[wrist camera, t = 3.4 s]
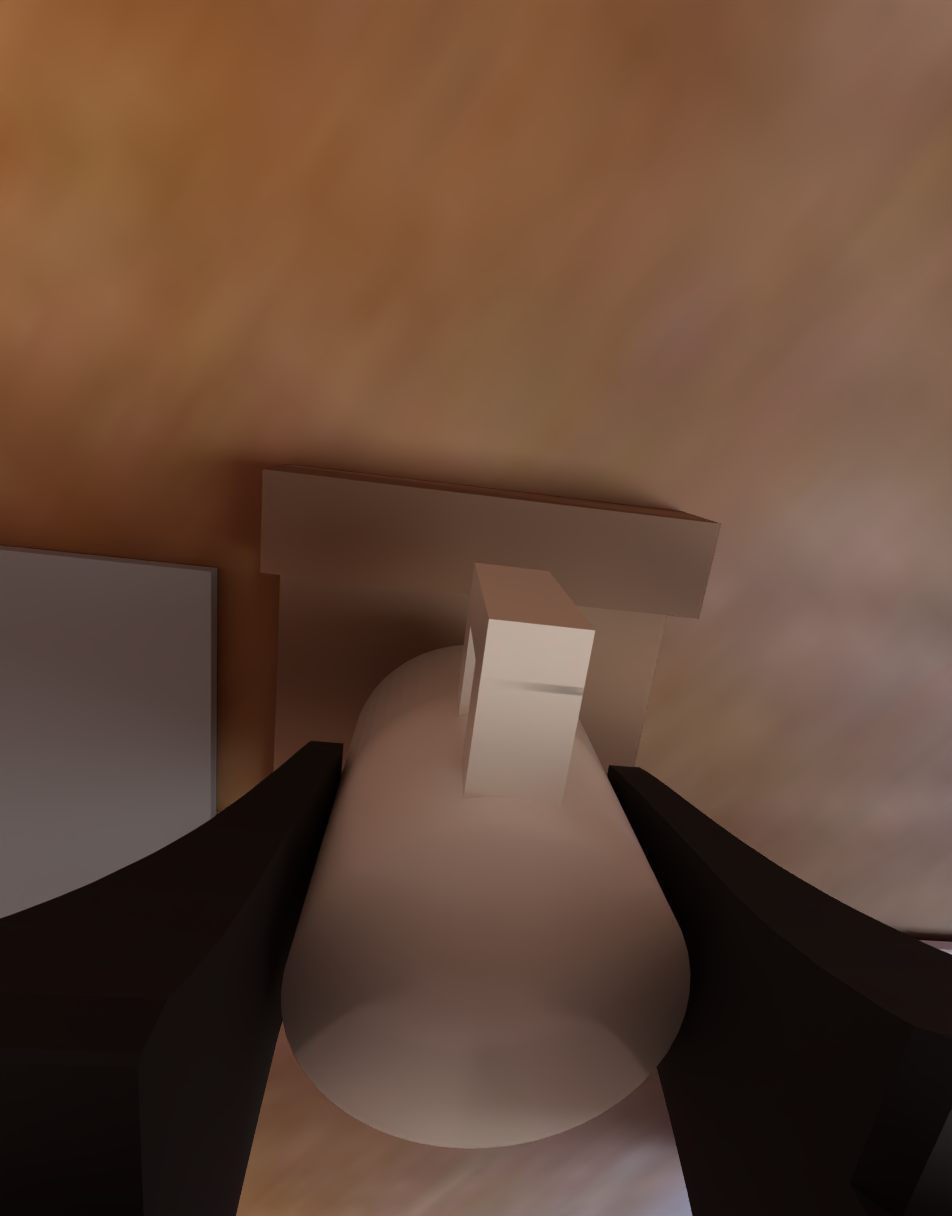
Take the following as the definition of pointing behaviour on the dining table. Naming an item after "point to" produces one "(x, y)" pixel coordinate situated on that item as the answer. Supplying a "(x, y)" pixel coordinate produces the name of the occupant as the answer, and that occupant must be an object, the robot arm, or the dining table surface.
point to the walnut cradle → (461, 589)
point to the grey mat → (101, 715)
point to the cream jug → (483, 897)
